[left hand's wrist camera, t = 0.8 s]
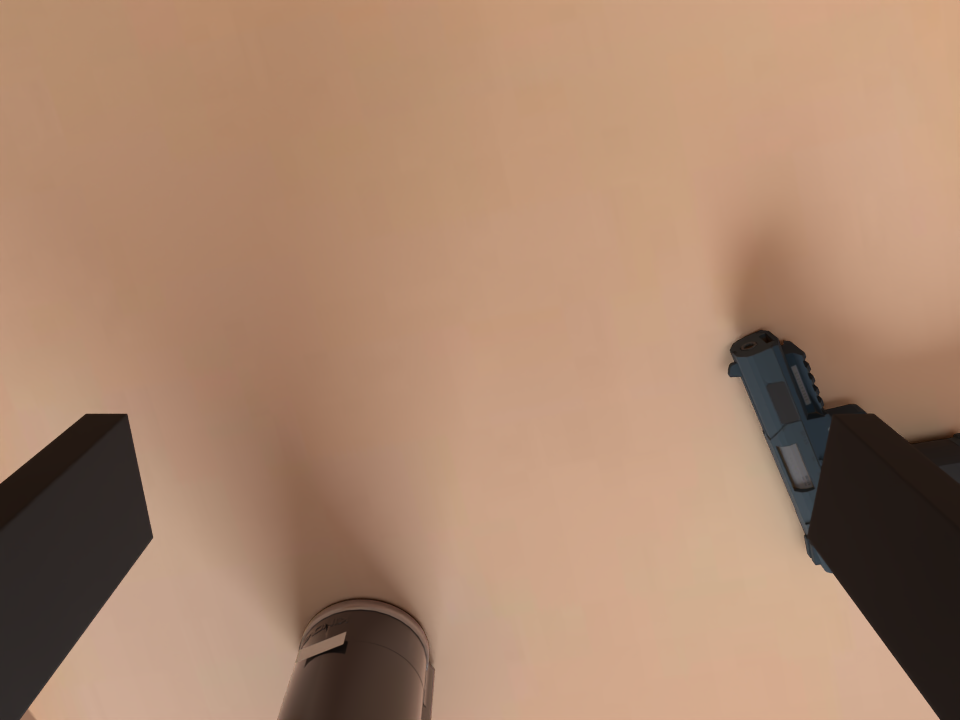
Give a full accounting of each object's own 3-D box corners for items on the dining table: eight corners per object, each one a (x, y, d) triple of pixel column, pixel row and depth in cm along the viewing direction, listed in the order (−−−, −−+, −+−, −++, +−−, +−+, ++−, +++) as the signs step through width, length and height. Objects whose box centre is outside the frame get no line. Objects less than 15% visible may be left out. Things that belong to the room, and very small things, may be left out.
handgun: (941, 272, 37) (730, 367, 39) (1013, 517, 42) (824, 590, 44) (907, 259, 40) (713, 348, 42) (978, 490, 45) (803, 559, 47)
